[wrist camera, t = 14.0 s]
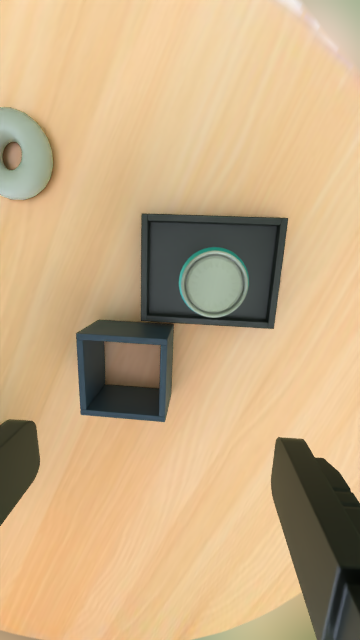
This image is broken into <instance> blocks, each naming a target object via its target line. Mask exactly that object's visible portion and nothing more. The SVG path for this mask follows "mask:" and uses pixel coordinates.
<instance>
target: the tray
mask: <svg viewBox="0 0 360 640" xmlns="http://www.w3.org/2000/svg"><path fill="white" fill-rule="evenodd" d="M287 223H288V218H269V217H237V216H204V215H172V214H142V228H141V321H153V322H169V323H186V324H203V325H219V326H236V327H253V328H270V329H274V323H275V315H276V308H277V300H278V292H279V285H280V277H281V269H282V262H283V254H284V246H285V239H286V231H287ZM210 247H219V248H224V249H227V250H229V251H232V252H233V253H235V254H236V255H237V256H238V257H239V258H240V259H241V260H242V261H243V263H244V265H245V266H246V269H247V272H248V276H249V287H248V291H247V295H246V297H245V299H244V301H243V302H242V304H241V305H240V306H239V307H238V308H237V309H236V310H235V311H233V312H232V313H230V314H228V315H225V316H222V317H215V318H212V317H206V316H202V315H200V314H197V313H196V312H194V311H193V310H191V309H190V308H189V307H188V306H187V305H186V303H185V302H184V300H183V299H182V296H181V294H180V290H179V276H180V272H181V270H182V267H183V265H184V264H185V262H186V261H187V260H188V259H189V258H190V257H191V256H192V255H193V254H194V253H196V252H198V251H200V250H202V249H205V248H210Z"/></svg>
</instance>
